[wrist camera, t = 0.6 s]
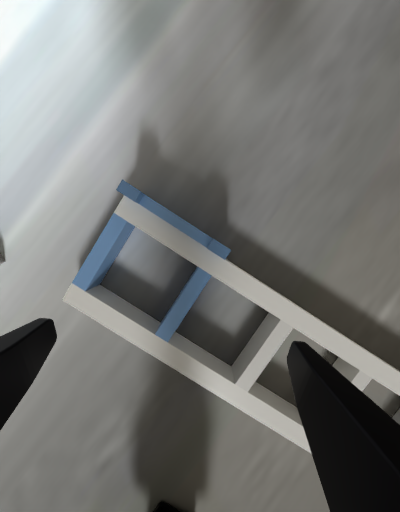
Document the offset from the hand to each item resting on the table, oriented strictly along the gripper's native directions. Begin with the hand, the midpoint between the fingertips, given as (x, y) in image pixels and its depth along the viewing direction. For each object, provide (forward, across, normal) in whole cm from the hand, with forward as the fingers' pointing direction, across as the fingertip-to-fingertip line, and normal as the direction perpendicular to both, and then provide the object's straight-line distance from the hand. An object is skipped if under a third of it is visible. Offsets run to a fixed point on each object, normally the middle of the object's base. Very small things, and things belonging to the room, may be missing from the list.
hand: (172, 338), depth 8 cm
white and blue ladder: (+12, -12, +14) cm, 22 cm away
